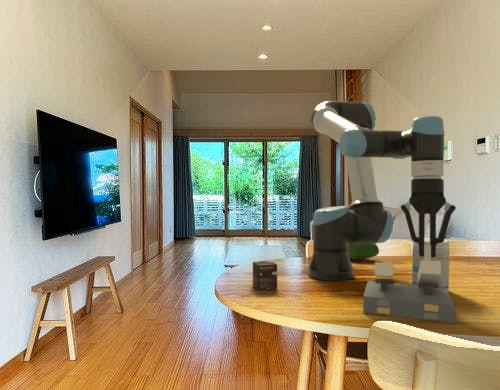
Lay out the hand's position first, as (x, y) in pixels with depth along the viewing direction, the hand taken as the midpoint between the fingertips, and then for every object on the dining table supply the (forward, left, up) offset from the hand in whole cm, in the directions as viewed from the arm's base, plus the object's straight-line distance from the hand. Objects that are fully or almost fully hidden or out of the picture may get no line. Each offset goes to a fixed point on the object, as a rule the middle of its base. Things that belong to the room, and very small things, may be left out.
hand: (427, 269), depth 95 cm
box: (-44, -1, -9) cm, 45 cm away
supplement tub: (+2, +13, -9) cm, 16 cm away
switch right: (0, -7, -1) cm, 7 cm away
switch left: (-10, -7, -1) cm, 12 cm away
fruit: (-21, +54, -9) cm, 59 cm away
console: (-5, -6, -9) cm, 12 cm away
